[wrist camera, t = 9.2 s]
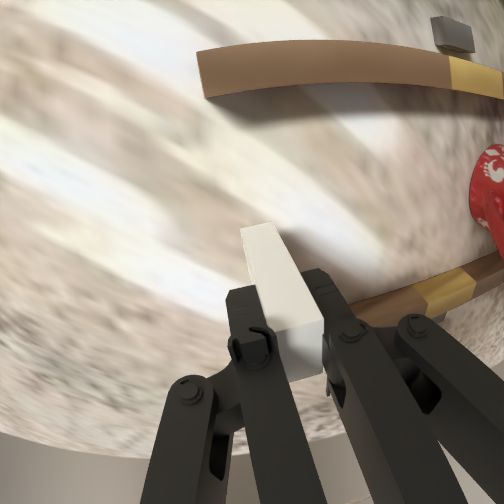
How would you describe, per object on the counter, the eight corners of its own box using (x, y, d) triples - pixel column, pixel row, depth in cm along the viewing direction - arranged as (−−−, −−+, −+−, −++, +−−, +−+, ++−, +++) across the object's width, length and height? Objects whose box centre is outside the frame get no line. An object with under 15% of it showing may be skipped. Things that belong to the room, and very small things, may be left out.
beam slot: (187, 8, 10) (185, -9, 8) (544, 69, 12) (561, 73, 10) (262, 370, 22) (268, 394, 20) (519, 270, 25) (531, 280, 22)
